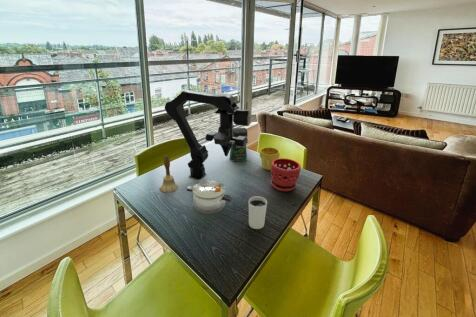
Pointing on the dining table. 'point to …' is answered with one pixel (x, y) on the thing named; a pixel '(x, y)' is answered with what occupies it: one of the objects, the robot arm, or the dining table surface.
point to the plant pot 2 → (284, 174)
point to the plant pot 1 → (268, 156)
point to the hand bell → (168, 179)
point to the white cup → (257, 212)
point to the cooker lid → (208, 189)
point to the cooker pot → (209, 203)
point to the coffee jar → (237, 151)
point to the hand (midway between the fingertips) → (226, 155)
